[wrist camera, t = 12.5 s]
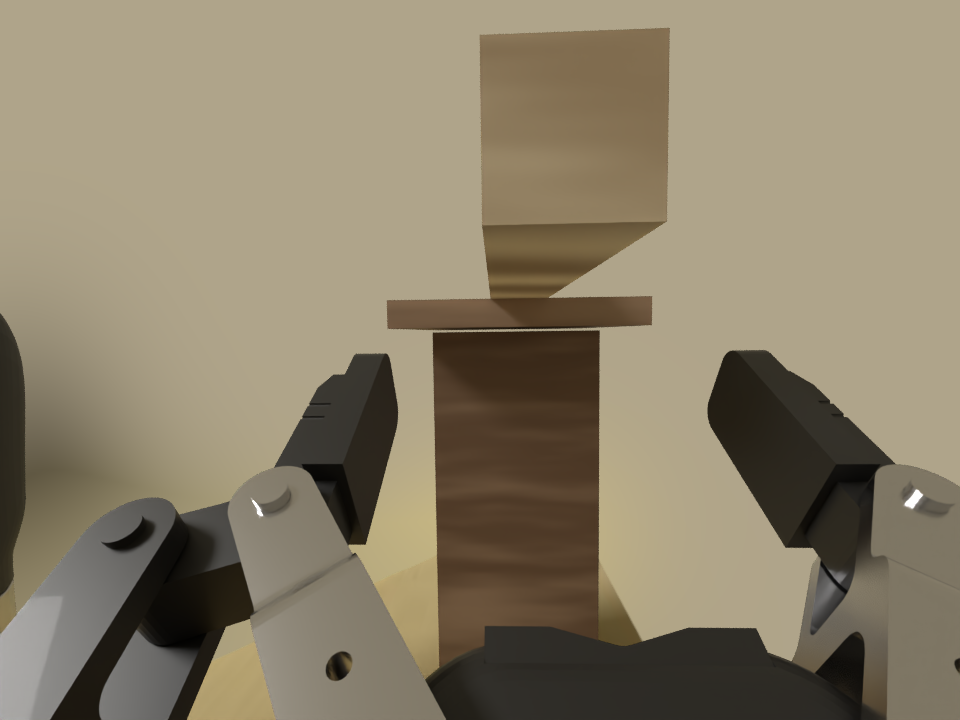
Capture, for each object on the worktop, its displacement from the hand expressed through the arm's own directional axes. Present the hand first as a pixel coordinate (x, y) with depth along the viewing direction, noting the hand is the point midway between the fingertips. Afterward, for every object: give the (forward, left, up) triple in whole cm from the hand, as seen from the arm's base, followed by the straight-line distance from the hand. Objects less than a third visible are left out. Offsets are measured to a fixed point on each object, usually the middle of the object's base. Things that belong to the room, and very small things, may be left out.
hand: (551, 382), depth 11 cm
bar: (-12, +12, +3) cm, 17 cm away
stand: (-16, +16, -29) cm, 37 cm away
